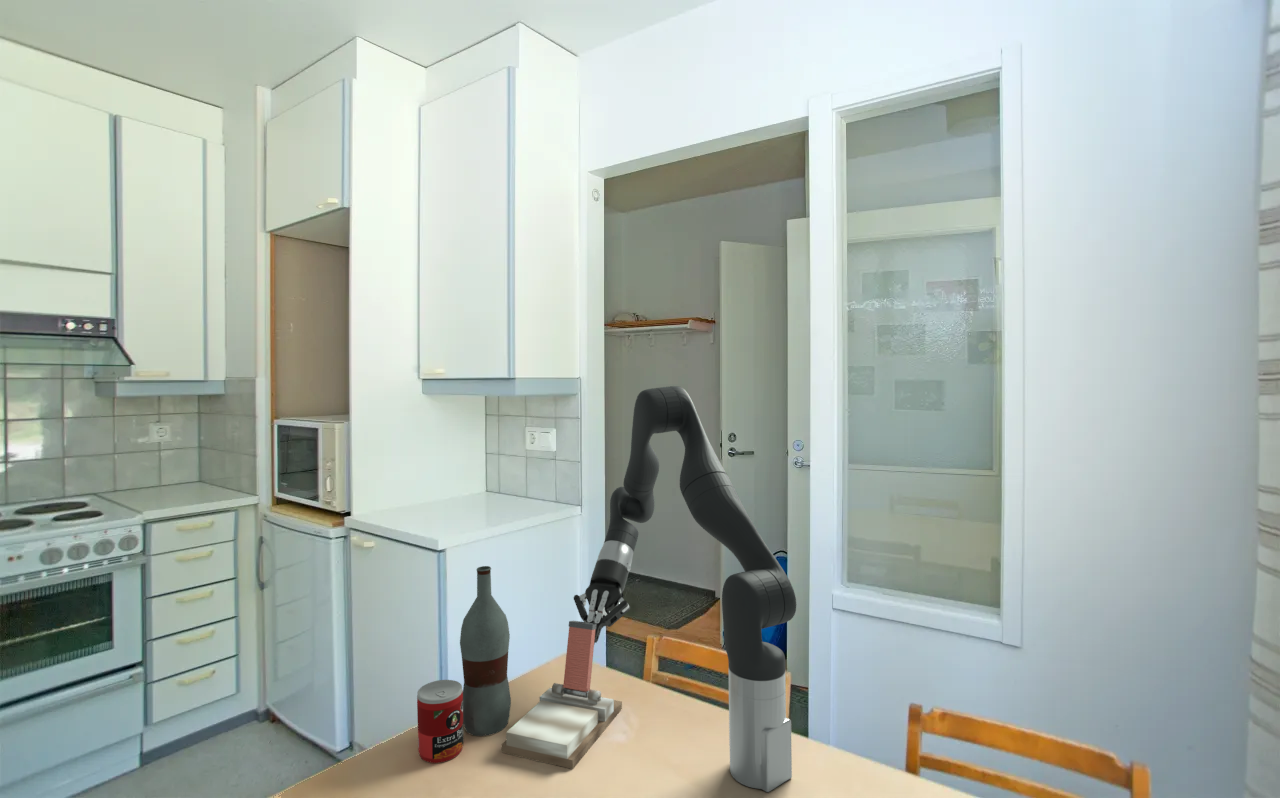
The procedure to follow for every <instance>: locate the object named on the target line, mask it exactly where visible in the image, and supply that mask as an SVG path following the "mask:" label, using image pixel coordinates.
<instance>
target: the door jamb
mask: <svg viewBox="0 0 1280 798" xmlns="http://www.w3.org/2000/svg"><path fill="white" fill-rule="evenodd" d="M563 684H564V683H563ZM563 684H562V683H556V682H554V683H553V684H552V686H551V687H549V688H548V689H547V690H545V691H544V692H543V693H542V694H541V695H540V696H539V697H538V698H539V699H538V700H539V702H537V703H536V704H535V705H534V707H532V708H531V709H530V710H529V711H527V713H526V714H525V715H523V716H522V717H521V718H520V719H519V720H518V721H517V722H516V723H515V724H514V725H512V727H510V728H509V729H508V730H507V731H506V732H505V735H506V736H505V738H506V740H504V742H502V743H501V753H502V754H507V755H510V756H514V757H519V758H523V759H527V760H530V761H531V760H533V761H537V762H540V763H545V764H550V765H553V766H559V767H561V768H565V769H566V768H567V769H571V770H574V768H575V767H576V766H577V765H578V764H579V763H580V761H581V760H582V759H583V758H584V756H585V755H586V754H587V753H588V751H589V750H590V749H591V748H592V746H593V745H594V744H595V743H596V742H597V740H598V739H599V738H600V737H601V735H602V734H603V733H604V732H605V730H606V729H607V728H608V727H609V726H610V724H611V723H612V722H613V721H614V720H615V718H616V717H617V716H618V715H619V713H620V712H621V709H622V710H623V701H620V700H615V699H614V698H608V697H602V692H601V690H596V689H591V688H590V690H589V692H588V698H584V697H578V696H573V695H567V694H564V692H563V691H564V687H563ZM617 714H618V715H617Z"/></svg>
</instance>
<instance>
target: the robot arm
mask: <svg viewBox="0 0 1280 798" xmlns="http://www.w3.org/2000/svg"><path fill="white" fill-rule="evenodd" d="M632 418H633V419H632V428H631V442H630V455H629V460H628V464H627V467H626V471H625V474H624V479H623V484H622V485H623V486H619V487H617V488H616V489H614V491H613V492H612V494H611V496H610V500H609V514H610V515H609V524H608V529H607V532H606V535H605V538H604V542H603V545H602V547H601V549H600V551H599V553H598V556H597V560H596V562H595V565H594V568H593V571H592V574H591V577H590V582H589V585H588V586H587V588H586V589H585V592H583V593H582V594H580V595H578V594H574V596H573V601H574V603H575V606H576V609H577V612H578V614H579V617H580V618H581V619H582V622H587V623H594V624H597V625H596V629H595V640H594V645H595V643H596V644H598V643H597V642H598V641H599V638H600V635H601V631H602V629H603V628H604V627H607V628H608V627H612V626H613V625H614V624H616V622H617V621H619V620H620V619H621V618H623V616H624V615H626V614H627V613H628V612H629V611H630V610H631V606H630V605H629V603H628V601H627V600H625V599H624V591H625V588H626V584H627V582H628V577H629V574H630V571H631V568H632V563H633V557H634V552H635V549H636V547H637V546H636V545H637V542H638V539H639V530H638V529H637V527H636V526H635V525H633V524H632V523H630V522H629V521H632V522H634V523H635V522H636V523H638V524H644V523H646V522H649V521H650V520H651V518H652V517H653V515H654V511H655V497H654V487H655V484H656V481H657V478H658V475H659V472H660V461H659V458H658V455H657V454H656V451H655V450H654V448H653V447H652V444H651V442H650V441H651V438H652V436H653V435H654V434H663V433H671V432H677V433H678V434H679V436H680V437H681V440H682V442H683V445H684V456H683V461H682V465H681V469H680V475H679V490H680V493H681V495H682V498H683V499H684V501H685V504H686V506H687V508H688V511H689V513H690V514H691V516H692V517H693V519H694V521H695V522H696V523H697V525H698V526H700V527H701V528H702V529H703V530H704V531H705V532H707V533H708V534H709V535H710V536H712V537H713V538H714V539H716V541H718V542H719V543H720V544H722V545H723V546H724V547H726V548H727V549H728V550H729V551H730V553H732V555H734V557H735V558H736V559H737V561H738V562H739V563H740V565H741V567H742V569H743V570H744V571H740V572H738V573H737V572H736V573H733V574H731V575H729V576H728V577H727V578H726V579H725V581H724V583H723V587H722V589H721V612H722V624H723V625H722V627H723V640H724V641H723V642H724V647H725V648H724V649H725V653H726V655H727V659H728V660H727V661H728V729H729V730H728V732H729V733H728V734H729V735H728V736H729V739H728V740H729V744H728V745H729V771H730V774H731V776H732V779H734V780H735V781H736V782H737V783H740V784H741V785H743V786H746V787H749V788H753V789H757V790H758V789H759V790H763V791H764V792H766V793H769V792H771V791H772V790H774V789H776V788H777V787H779V786H780V785H782V784H784V783H785V782H787V781H788V780H790V779H792V777H793V774H792V773H793V771H792V769H793V767H792V766H793V763H792V762H793V761H792V759H793V758H792V751H793V750H792V720H791V719H790V718H788V717H787V710H786V709H787V708H786V707H787V701H786V700H787V695H786V692H787V691H786V681H787V680H786V656H785V653H784V651H783V650H782V649H781V648H779V646H776V645H775V644H773V643H769V642H766V641H763V636H762V635H763V634H762V630H763V629H767V628H771V627H775V626H778V625H779V626H780V625H781V624H785V623H787V622H790V621H791V620H792V619H793V618H794V617H795V615H796V611H797V598H796V592H795V590H794V588H793V586H792V583H791V580H790V579H789V577H788V575H787V574H786V572H785V570H784V569H783V567H782V566H781V564H780V563H779V561H778V560H777V558H776V557H775V555H774V554H773V552H772V551H771V549H770V547H768V545H767V544H766V542H765V540H764V539H763V537H762V535H761V534H760V532H759V531H758V530H757V527H756V525H755V523H754V522H753V521H752V519H751V517H750V515H749V513H748V511H747V510H746V508H745V506H744V505H743V501H741V499H740V497H739V495H738V493H737V490H736V489H735V486H734V484H733V483H732V481H731V478H730V477H729V475H728V474H727V472H726V470H725V468H724V466H723V465H722V463H721V461H720V459H719V458H718V455H717V453H716V452H715V450H714V447H713V446H712V444H711V443H710V440H709V437H708V436H707V433H706V431H705V429H704V426H703V424H702V422H701V419H700V415H699V414H698V412H697V409H696V407H695V404H694V402H693V401H692V398H691V397H690V395H689V393H688V392H687V391H686V389H685V388H683V387H682V386H677V385H672V386H663V387H660V386H659V387H654V388H648V389H647V388H646V389H644V390H642V391H640V392H639V393H638V394H637V396H636V399H635V403H634V408H633V416H632ZM587 602H588V603H587ZM587 604H588V606H589V607H588V612H587V609H586V607H585V606H586V605H587Z"/></svg>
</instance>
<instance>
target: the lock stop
mask: <svg viewBox="0 0 1280 798" xmlns="http://www.w3.org/2000/svg"><path fill="white" fill-rule="evenodd" d="M596 625H597V624H594V623H587V622H584V621H578V620H569V621H568V633H567V634H568V636H567V645H566V655H565V665H564V675H563V687H564V691H563V692H564V694H567V695H573V696H578V697H584V698H588V692H589V690H590V689H591V682H592V680H591V679H592V672H593V671H592V670H593V663H594V662H593V661H594V660H593V659H594V651H595V650H594V648H595V644H594V640H595V629H596Z"/></svg>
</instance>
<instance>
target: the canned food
mask: <svg viewBox="0 0 1280 798" xmlns="http://www.w3.org/2000/svg"><path fill="white" fill-rule="evenodd" d="M416 699H417V700H416V701H417V702H416V705H417V706H416V707H417V710H416V711H417V739H418V740H417V747H418V748H417V749H418V754H419V757H420V758H421V760H423V761H424V762H427V763H430V764H431V763H432V764H440V763H444V762H448V761H451V760H453V759H455V758H456V757H457V756H459V755H460V753H462V751H463V746H464V739H465V738H464V724H463V685H462V683H461V682H459V681H457V680H454V679H453V680H452V679H439V680H435V681H434V680H433V681H431V682H430V681H429V682H428V683H426V684H424V685H422V686H421V687H420V688H419V689H418V690H417V696H416Z"/></svg>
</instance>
